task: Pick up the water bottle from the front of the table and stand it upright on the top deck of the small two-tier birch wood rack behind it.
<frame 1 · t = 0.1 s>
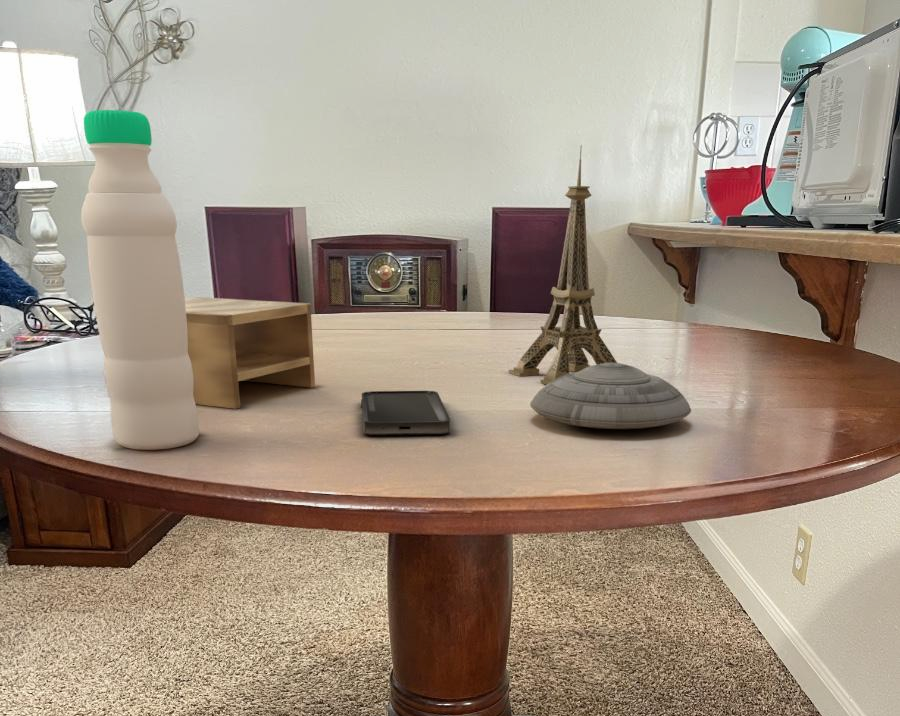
phone: (402, 418, 85), on the table
eiffel tower: (567, 378, 108), on the table
flying saucer: (608, 423, 85), on the table
water bottle: (158, 443, 76), on the table
rack: (219, 390, 98), on the table
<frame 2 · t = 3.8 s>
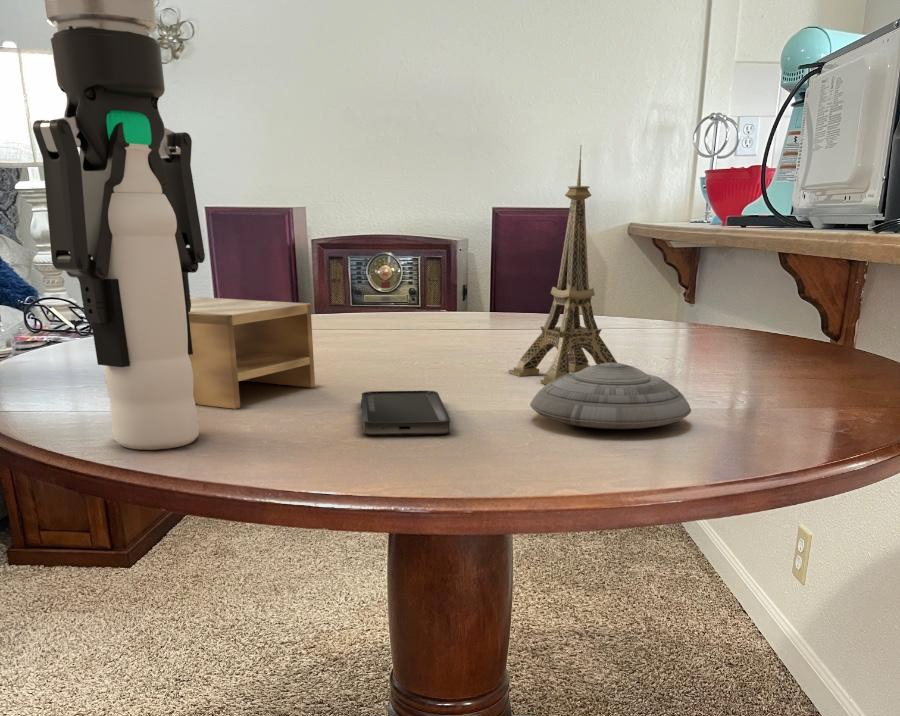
hand: (147, 358, 74), 7 cm above the table, tool pointing down, fingers closed on water bottle, 7 cm apart
water bottle: (158, 443, 76), on the table, touching gripper
everything else where it was.
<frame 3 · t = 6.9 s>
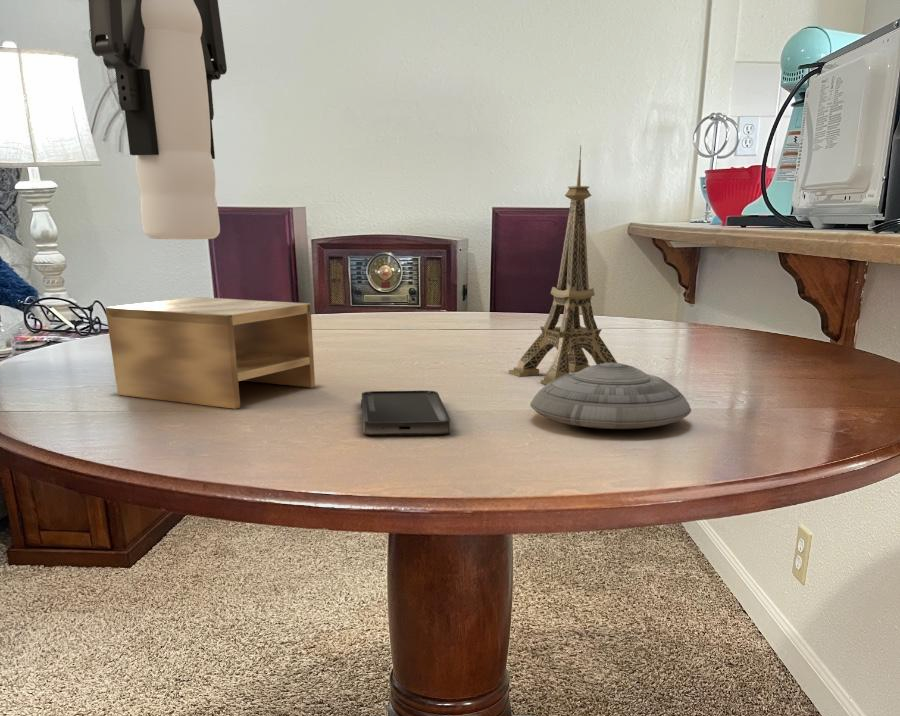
hand: (173, 156, 82), 23 cm above the table, tool pointing down, fingers closed on water bottle, 7 cm apart
water bottle: (182, 240, 84), point 16 cm above the table, touching gripper
everything else where it was.
when the fingers open (16 cm above the table, at t = 9.9 s): water bottle stays where it is, resting on rack.
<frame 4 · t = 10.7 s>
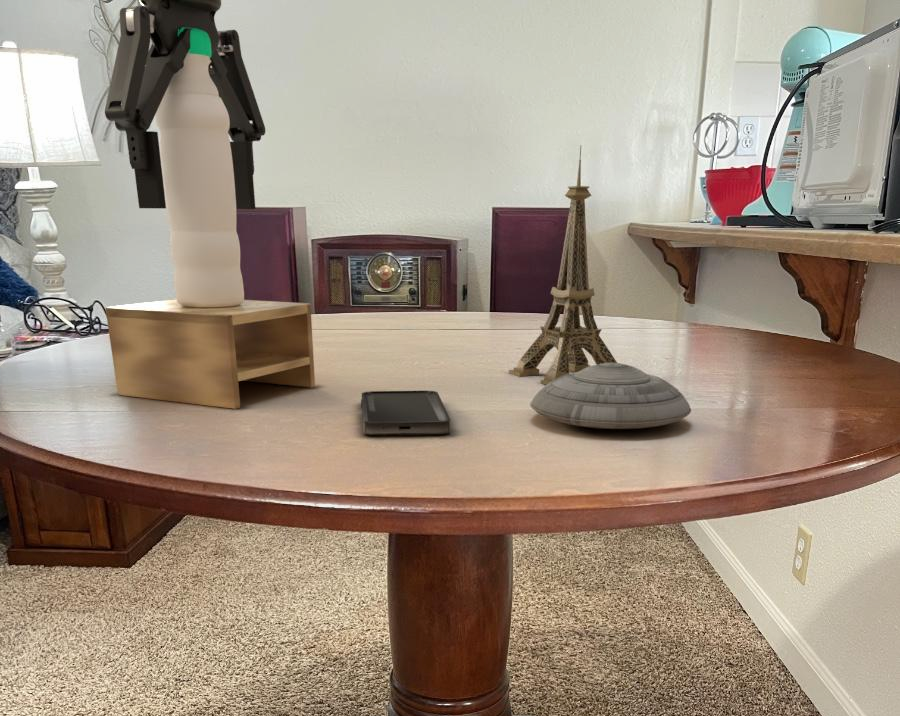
hand: (200, 209, 91), 18 cm above the table, tool pointing down, fingers open, 13 cm apart
water bottle: (211, 307, 95), point 9 cm above the table, touching rack
everything else where it was.
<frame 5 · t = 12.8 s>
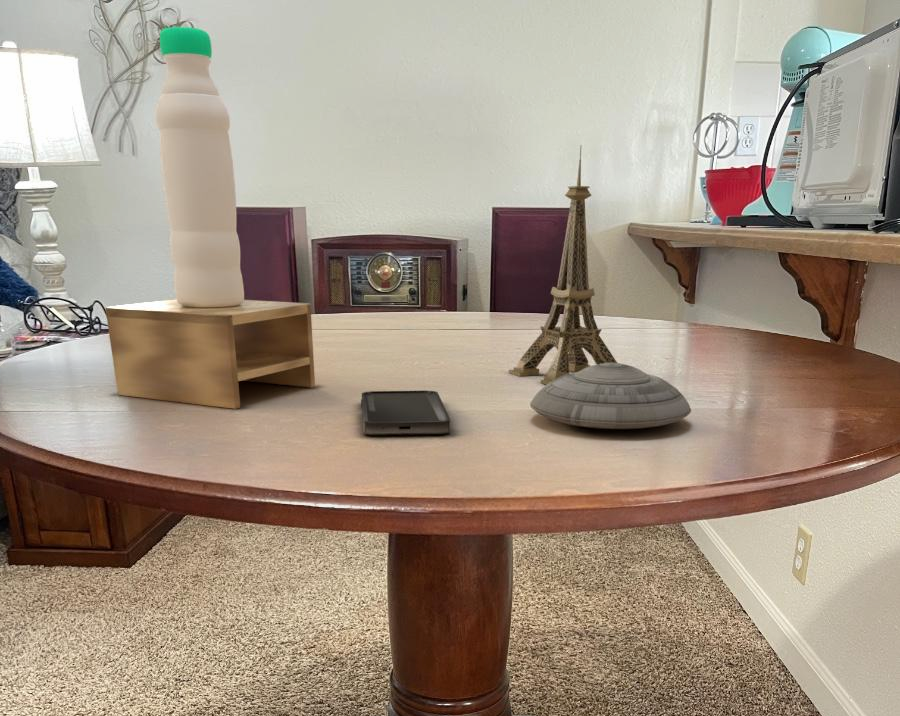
nothing on the table moved.
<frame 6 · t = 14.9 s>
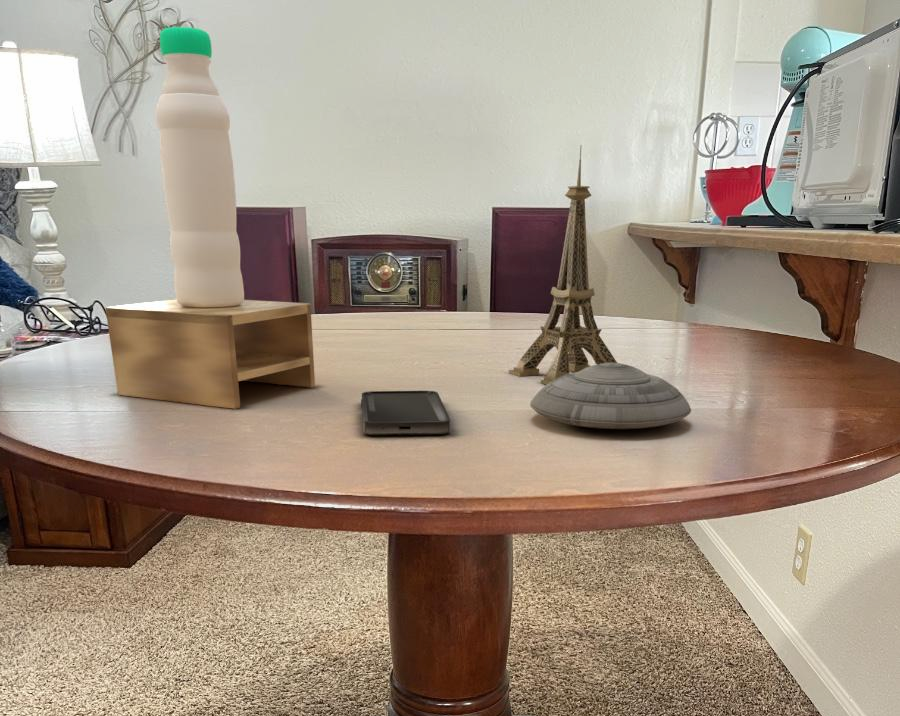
nothing on the table moved.
at the end: water bottle inside the target area on the rack (0.0 cm from its centre), point 8.8 cm above the rack's base; water bottle tilted 0°; the gripper is holding nothing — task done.
